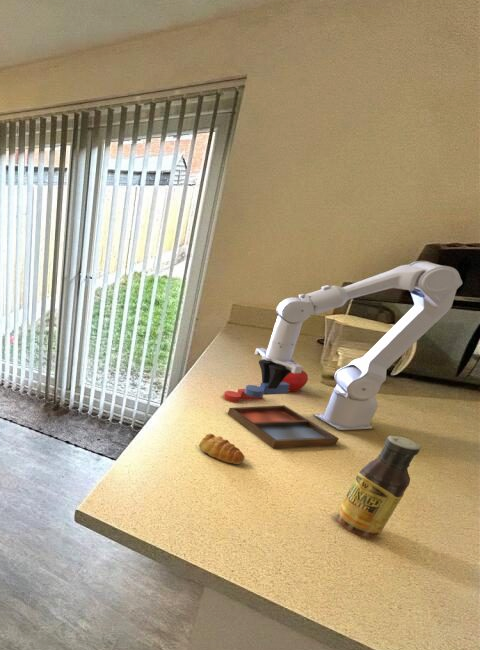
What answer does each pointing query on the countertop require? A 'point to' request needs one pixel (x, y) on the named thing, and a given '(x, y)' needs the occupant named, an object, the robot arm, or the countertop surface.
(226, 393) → the red spoon
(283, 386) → the blue spoon
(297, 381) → the pomegranate
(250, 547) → the countertop surface
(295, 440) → the sorting tray
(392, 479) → the sauce bottle
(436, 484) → the countertop surface
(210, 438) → the pastry
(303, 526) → the countertop surface
